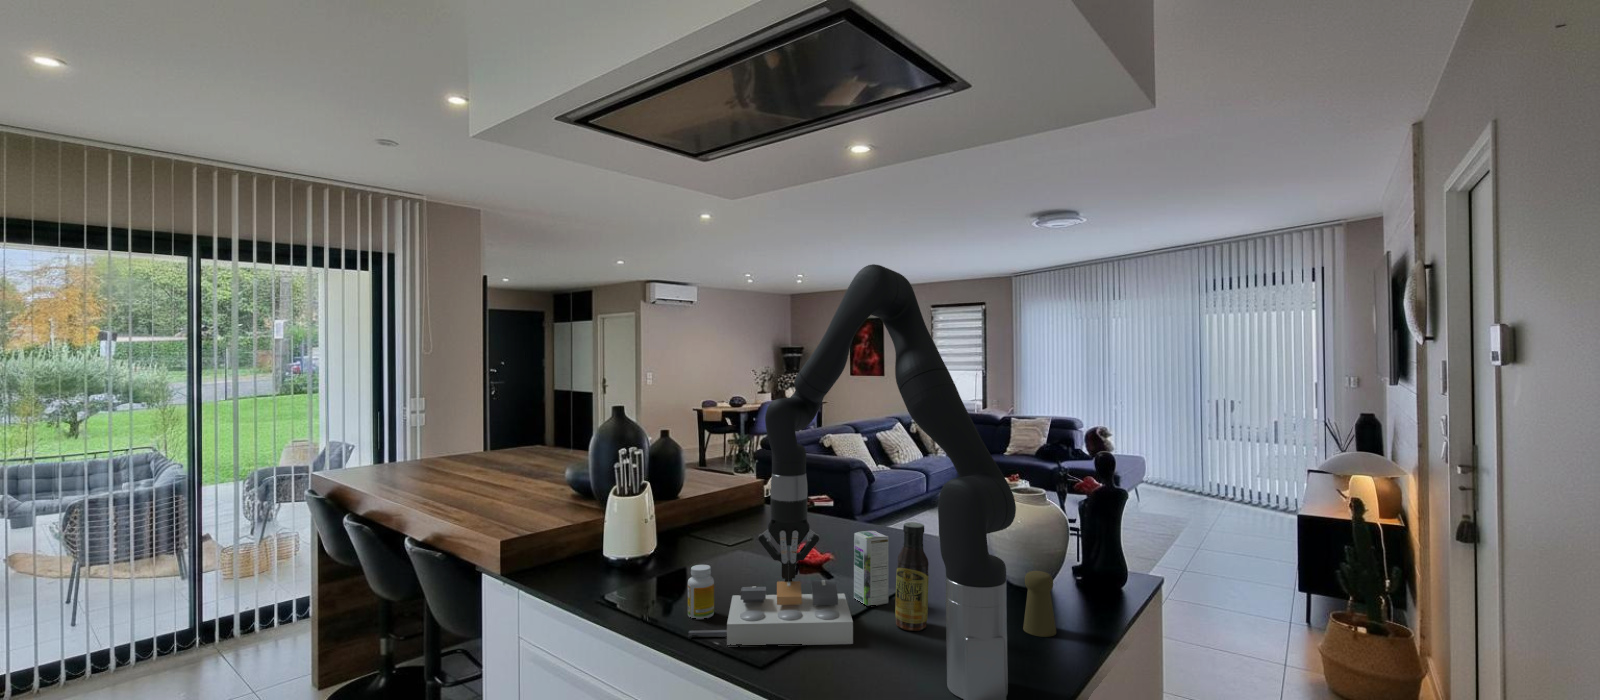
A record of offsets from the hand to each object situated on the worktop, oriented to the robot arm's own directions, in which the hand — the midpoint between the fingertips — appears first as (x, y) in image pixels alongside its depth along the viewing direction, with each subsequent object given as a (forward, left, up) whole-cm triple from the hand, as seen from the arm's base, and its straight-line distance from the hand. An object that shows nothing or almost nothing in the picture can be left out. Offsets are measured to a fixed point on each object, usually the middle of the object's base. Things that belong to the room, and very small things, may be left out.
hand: (788, 580), depth 132 cm
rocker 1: (-4, +7, -3) cm, 9 cm away
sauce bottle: (-6, -24, -8) cm, 26 cm away
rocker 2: (-4, 0, -3) cm, 5 cm away
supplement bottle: (+2, +18, -8) cm, 20 cm away
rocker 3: (-4, -7, -3) cm, 8 cm away
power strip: (-6, +4, -7) cm, 10 cm away
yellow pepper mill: (-9, -48, -8) cm, 49 cm away
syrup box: (+8, -18, -8) cm, 21 cm away
